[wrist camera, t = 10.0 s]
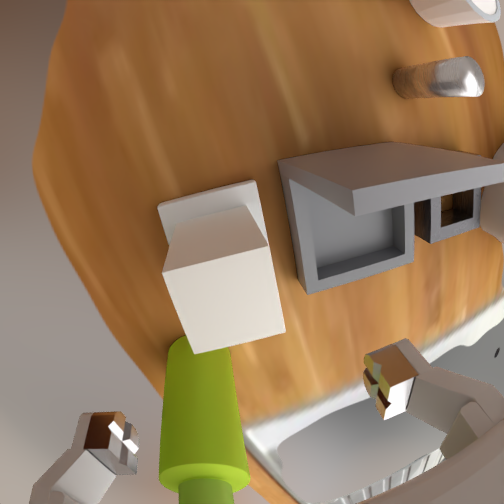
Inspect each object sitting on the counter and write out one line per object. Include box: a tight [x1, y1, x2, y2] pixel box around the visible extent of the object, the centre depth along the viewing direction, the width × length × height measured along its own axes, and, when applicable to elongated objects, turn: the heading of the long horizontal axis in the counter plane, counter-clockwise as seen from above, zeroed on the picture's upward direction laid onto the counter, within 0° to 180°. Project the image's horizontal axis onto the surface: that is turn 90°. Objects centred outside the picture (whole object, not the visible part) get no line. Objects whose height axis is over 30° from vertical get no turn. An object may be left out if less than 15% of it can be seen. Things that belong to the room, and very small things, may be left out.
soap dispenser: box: [159, 335, 250, 504], centre depth 18 cm, size 6×7×20 cm
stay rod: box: [393, 56, 484, 99], centre depth 16 cm, size 3×3×8 cm
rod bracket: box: [414, 151, 481, 244], centre depth 23 cm, size 7×7×3 cm
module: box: [162, 206, 286, 354], centre depth 18 cm, size 5×5×8 cm
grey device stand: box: [277, 142, 504, 295], centre depth 18 cm, size 10×10×12 cm
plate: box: [157, 180, 269, 246], centre depth 22 cm, size 8×7×1 cm
